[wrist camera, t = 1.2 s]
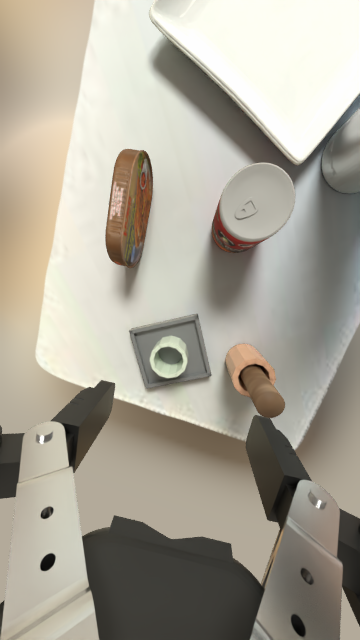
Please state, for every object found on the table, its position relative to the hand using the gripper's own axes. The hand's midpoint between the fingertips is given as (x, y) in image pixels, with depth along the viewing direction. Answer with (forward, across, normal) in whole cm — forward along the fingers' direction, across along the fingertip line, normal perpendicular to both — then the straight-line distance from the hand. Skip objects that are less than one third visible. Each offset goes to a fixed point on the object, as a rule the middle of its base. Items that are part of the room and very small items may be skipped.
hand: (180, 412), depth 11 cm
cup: (+25, -11, +5) cm, 27 cm away
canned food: (+25, -4, -16) cm, 30 cm away
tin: (+25, +12, -15) cm, 31 cm away
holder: (+24, +2, +6) cm, 25 cm away
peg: (+24, -11, +5) cm, 27 cm away
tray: (+25, +2, +6) cm, 26 cm away
